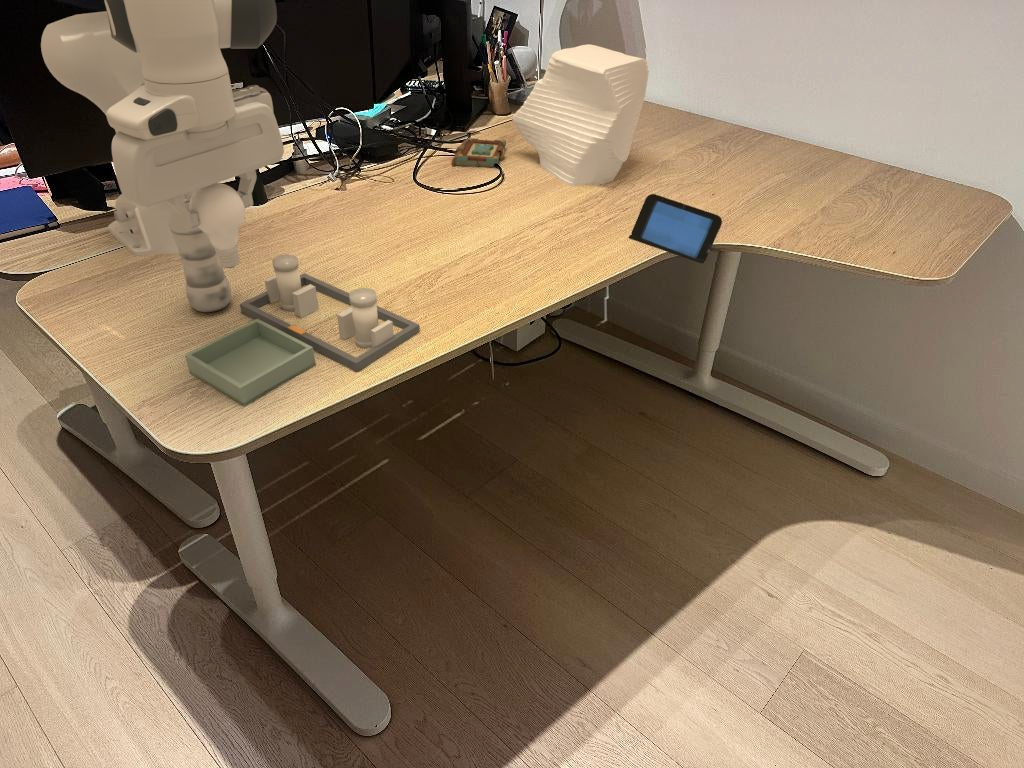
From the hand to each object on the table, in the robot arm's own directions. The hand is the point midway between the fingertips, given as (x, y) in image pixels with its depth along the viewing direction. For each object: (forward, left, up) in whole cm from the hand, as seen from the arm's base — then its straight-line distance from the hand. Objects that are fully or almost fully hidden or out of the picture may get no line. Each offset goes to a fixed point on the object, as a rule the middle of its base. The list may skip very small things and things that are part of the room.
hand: (218, 216), depth 92 cm
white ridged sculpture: (-5, +93, -23) cm, 96 cm away
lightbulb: (0, 0, -7) cm, 7 cm away
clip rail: (-1, +15, -23) cm, 27 cm away
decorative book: (-24, +82, -24) cm, 89 cm away
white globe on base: (-9, +15, -23) cm, 29 cm away
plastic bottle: (-19, +7, -23) cm, 31 cm away
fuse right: (+8, +15, -23) cm, 28 cm away
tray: (0, 0, -23) cm, 23 cm away
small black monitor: (+29, +66, -24) cm, 76 cm away
